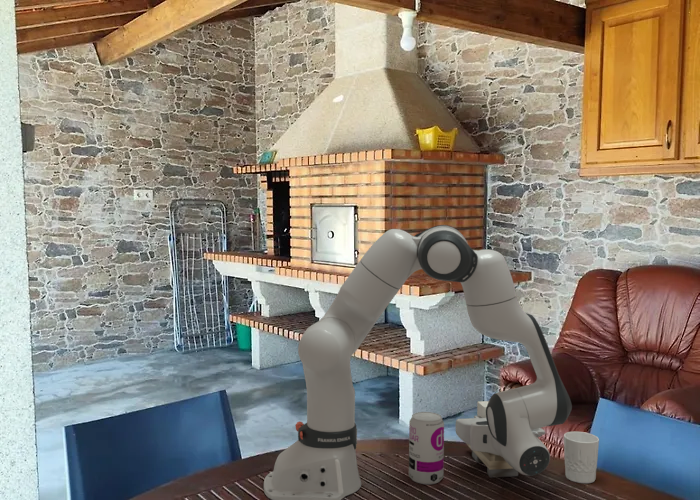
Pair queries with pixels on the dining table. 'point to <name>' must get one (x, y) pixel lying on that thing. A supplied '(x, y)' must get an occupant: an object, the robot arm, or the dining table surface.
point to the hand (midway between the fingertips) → (486, 418)
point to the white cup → (580, 456)
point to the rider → (482, 408)
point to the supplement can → (426, 448)
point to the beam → (494, 464)
